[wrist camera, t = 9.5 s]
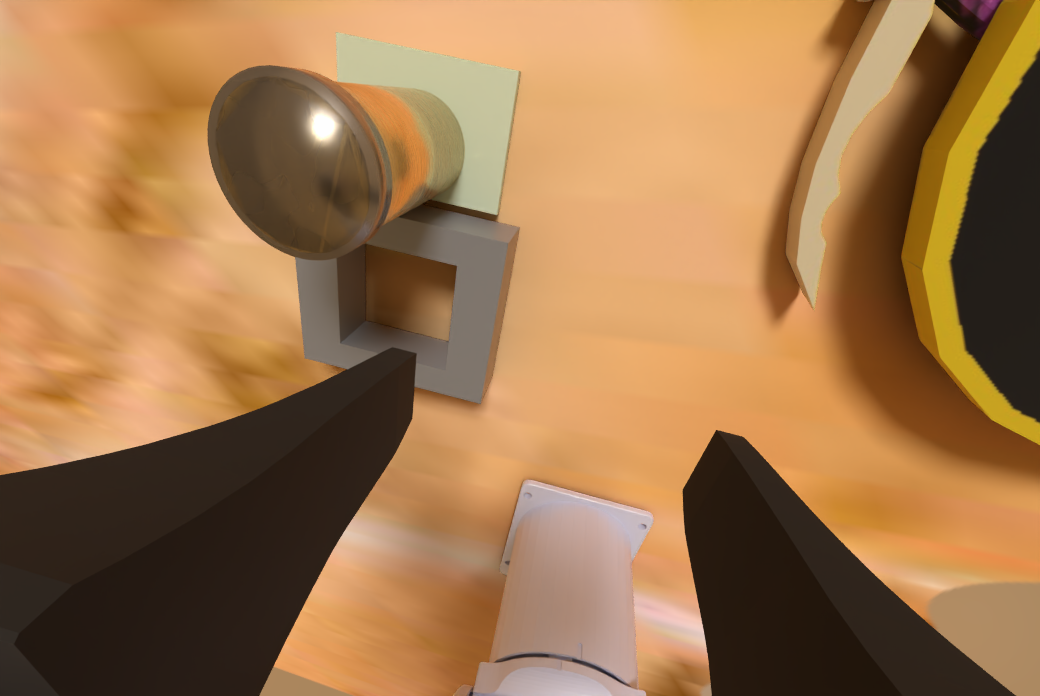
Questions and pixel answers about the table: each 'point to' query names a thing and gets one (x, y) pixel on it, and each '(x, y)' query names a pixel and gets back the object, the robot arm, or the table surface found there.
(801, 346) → the table surface
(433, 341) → the gray block
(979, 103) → the wall ornament
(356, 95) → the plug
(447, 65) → the mat
